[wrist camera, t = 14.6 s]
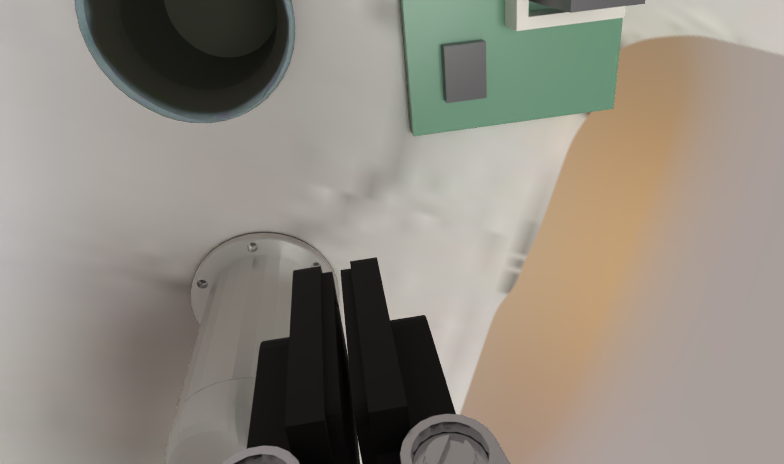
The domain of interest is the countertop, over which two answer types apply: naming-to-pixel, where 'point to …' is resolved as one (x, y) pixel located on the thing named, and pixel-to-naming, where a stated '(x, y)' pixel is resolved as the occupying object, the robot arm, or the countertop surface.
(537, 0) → the plug
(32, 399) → the countertop surface
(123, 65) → the dark grey open cylinder
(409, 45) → the board
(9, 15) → the countertop surface
